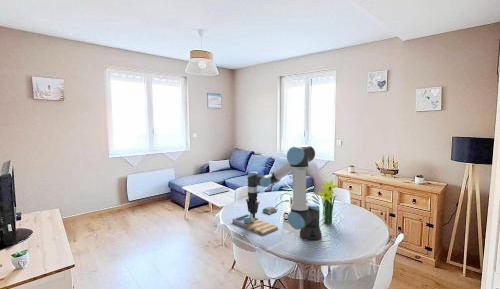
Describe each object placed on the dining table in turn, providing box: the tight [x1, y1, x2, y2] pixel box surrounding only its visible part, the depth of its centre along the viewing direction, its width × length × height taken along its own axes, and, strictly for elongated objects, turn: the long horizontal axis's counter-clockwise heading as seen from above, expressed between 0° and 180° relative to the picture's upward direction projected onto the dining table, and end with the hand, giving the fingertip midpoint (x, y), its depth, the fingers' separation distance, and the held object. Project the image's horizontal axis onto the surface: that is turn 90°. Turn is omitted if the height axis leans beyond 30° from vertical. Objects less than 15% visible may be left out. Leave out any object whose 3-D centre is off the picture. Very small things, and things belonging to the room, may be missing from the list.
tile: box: [243, 216, 251, 223], centre depth 210 cm, size 6×6×4 cm
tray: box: [232, 214, 259, 228], centre depth 213 cm, size 13×16×3 cm
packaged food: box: [261, 206, 279, 215], centre depth 234 cm, size 9×12×5 cm
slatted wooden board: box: [243, 219, 279, 236], centre depth 201 cm, size 20×16×2 cm
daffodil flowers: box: [316, 178, 339, 226], centre depth 207 cm, size 17×15×35 cm
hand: (252, 221), depth 207 cm, fingers closed
